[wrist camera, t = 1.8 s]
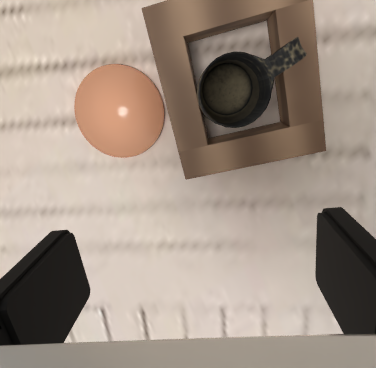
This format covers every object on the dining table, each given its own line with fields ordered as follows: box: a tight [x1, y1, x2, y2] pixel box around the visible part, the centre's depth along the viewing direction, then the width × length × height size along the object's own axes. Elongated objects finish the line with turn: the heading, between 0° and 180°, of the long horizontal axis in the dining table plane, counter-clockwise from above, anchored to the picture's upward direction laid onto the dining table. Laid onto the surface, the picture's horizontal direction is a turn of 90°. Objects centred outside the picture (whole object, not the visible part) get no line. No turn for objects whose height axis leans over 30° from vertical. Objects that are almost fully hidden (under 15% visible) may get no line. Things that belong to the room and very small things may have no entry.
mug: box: [197, 37, 307, 128], centre depth 24 cm, size 8×6×12 cm
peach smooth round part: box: [74, 64, 164, 158], centre depth 31 cm, size 10×10×1 cm
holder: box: [142, 0, 326, 179], centre depth 27 cm, size 14×16×4 cm
